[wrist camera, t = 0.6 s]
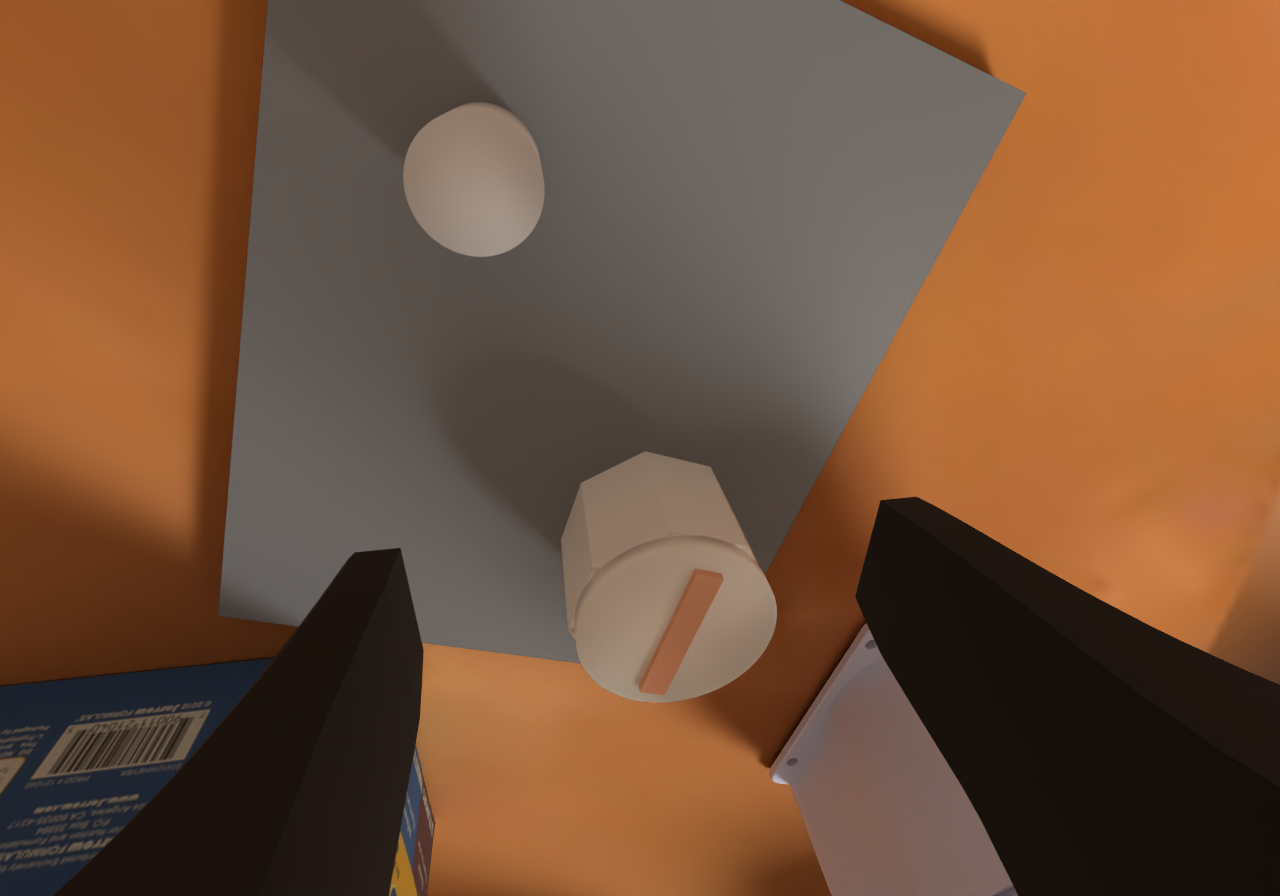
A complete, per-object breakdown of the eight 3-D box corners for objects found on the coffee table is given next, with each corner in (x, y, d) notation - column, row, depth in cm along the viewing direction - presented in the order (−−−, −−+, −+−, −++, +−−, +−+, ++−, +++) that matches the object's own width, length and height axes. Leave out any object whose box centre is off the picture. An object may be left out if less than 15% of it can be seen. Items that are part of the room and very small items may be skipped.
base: (701, 658, 25) (734, 766, 21) (231, 593, 20) (161, 716, 16) (999, 92, 16) (1147, 98, 12) (307, -249, 12) (200, -408, 8)
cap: (694, 601, 22) (731, 717, 18) (545, 576, 20) (551, 697, 16) (756, 475, 20) (814, 576, 16) (595, 437, 18) (614, 538, 14)
